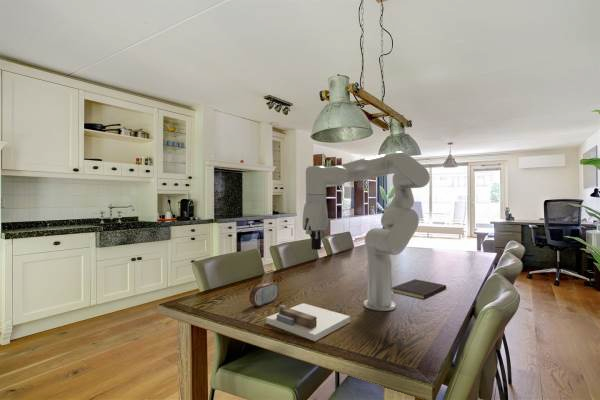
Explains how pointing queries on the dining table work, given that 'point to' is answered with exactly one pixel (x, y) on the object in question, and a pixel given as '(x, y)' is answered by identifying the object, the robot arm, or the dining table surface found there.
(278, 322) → the white flat square panel
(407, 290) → the hardcover book
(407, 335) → the dining table surface
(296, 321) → the folding leg
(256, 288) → the tin
